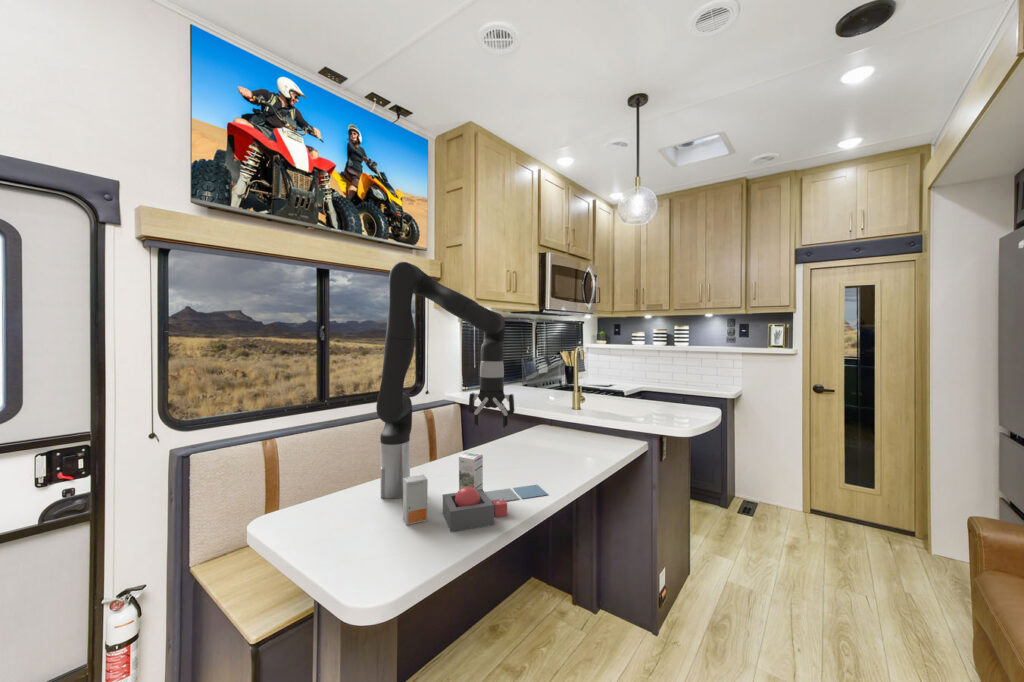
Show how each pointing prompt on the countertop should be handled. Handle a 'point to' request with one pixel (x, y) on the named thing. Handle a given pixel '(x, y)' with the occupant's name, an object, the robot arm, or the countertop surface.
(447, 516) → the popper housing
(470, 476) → the syrup box
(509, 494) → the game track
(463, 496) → the red ball
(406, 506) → the skincare box
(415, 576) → the countertop surface
